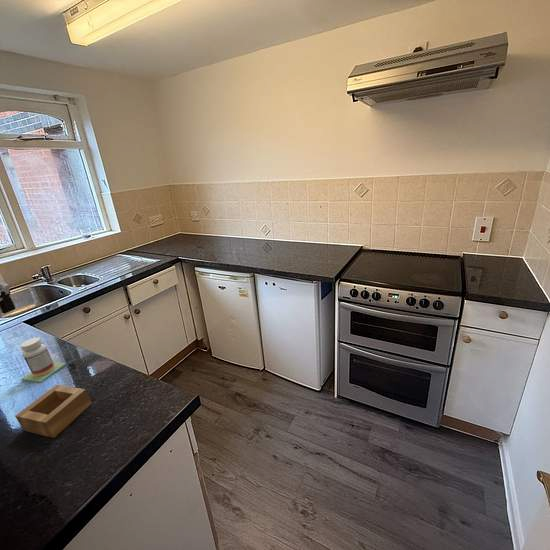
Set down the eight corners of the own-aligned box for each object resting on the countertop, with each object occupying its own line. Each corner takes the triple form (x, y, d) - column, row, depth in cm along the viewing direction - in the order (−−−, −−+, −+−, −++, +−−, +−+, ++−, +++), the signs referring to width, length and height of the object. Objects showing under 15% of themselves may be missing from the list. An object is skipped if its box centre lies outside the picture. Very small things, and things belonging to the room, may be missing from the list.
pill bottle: (37, 368, 101) (23, 339, 97) (58, 362, 103) (44, 334, 98) (30, 379, 95) (14, 349, 91) (51, 373, 97) (37, 344, 93)
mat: (21, 379, 97) (21, 378, 96) (48, 362, 105) (47, 360, 104) (40, 382, 94) (40, 381, 94) (66, 364, 102) (66, 363, 101)
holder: (23, 430, 76) (14, 415, 74) (63, 398, 85) (56, 384, 84) (53, 438, 72) (45, 422, 70) (91, 403, 82) (85, 389, 80)
